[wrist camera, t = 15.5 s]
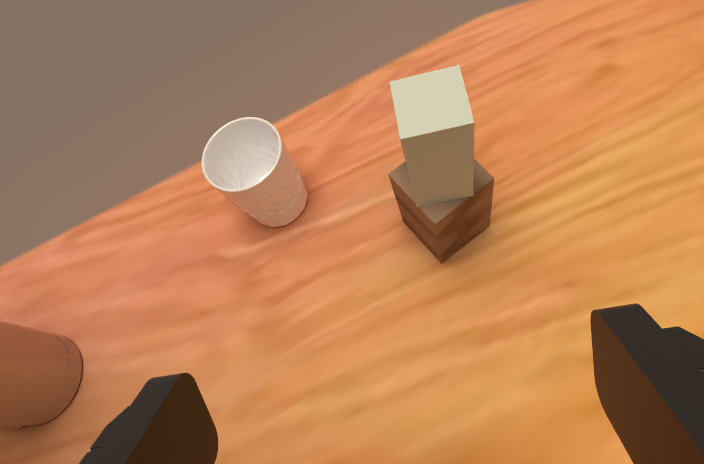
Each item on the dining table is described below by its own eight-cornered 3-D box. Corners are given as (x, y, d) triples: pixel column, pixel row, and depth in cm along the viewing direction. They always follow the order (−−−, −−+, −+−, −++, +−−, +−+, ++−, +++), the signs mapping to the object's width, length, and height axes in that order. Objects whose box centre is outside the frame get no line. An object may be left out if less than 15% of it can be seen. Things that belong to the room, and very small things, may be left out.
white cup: (274, 157, 56) (236, 105, 47) (327, 187, 53) (297, 136, 44) (232, 212, 55) (185, 168, 46) (284, 245, 52) (245, 205, 42)
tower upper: (438, 246, 43) (434, 224, 38) (396, 200, 45) (388, 174, 41) (491, 204, 43) (494, 177, 38) (446, 161, 45) (444, 131, 41)
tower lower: (441, 263, 47) (438, 245, 43) (403, 221, 50) (396, 199, 45) (489, 225, 47) (491, 204, 43) (448, 185, 50) (446, 160, 45)
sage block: (473, 195, 38) (474, 122, 29) (416, 207, 39) (400, 139, 30) (461, 147, 40) (458, 64, 31) (407, 159, 41) (389, 81, 32)
